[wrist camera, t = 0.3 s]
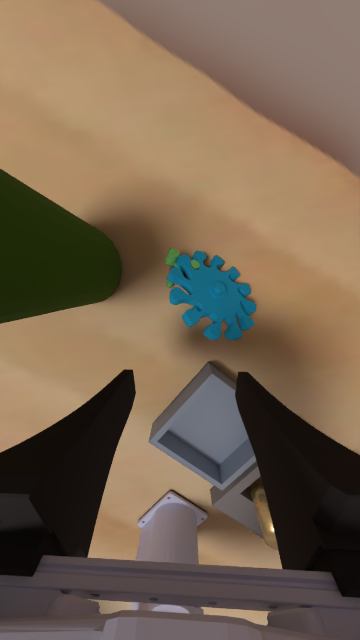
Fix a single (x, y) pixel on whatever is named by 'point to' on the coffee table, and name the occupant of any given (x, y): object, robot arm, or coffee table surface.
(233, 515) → the crank plate
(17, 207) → the wine bottle
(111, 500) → the coffee table surface
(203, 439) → the tray
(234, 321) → the blue spiky round piece
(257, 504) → the pin
